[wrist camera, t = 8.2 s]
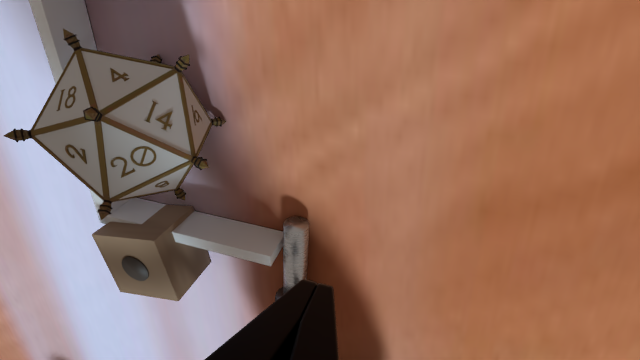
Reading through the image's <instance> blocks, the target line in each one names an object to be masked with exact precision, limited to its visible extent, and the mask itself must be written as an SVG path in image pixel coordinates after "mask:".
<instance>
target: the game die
mask: <svg viewBox="0 0 640 360" xmlns="http://www.w3.org/2000/svg"><path fill="white" fill-rule="evenodd" d="M63 33H64V39H63V40H65V41H66V42H67V43H68V44H67V45H68V46H71V47H72V48H73V50H74V52H73V54H72V56H71V58H70V59H69V61H68V63H67V65H66V67H65V69H64V70H63V72H62V74H61V76H60V78H59V79H58V81H57V83H56V85H55V87H54V89H53V90H52V92H51V94H50V96H49V98H48V100H47V101H46V103H45V105H44V107H43V109H42V111H41V112H40V114H39V116H38V118H37V120H36V122H35V123H34V125H33V127H32V129H31V130H29V131H27V130H23V129H21V130H16V129H14V130H13V131H11V132H9V133H8V134H6V135H4V136H5V137H8V138H10V139H13V140H16V142H18V141H19V140H23V141H25V140H26V139H29V138H32V139H34V140H35V141H36V142H37V143H38V144H39V145H40V146H42V147H43V148H44V149H45V150H46V151H47V152H48V153H50V154H51V155H52V156H53V157H54V158H55V159H56V160H58V161H59V162H60V163H61V164H62V165H63V166H64V167H66V168H67V169H68V170H69V171H70V172H71V173H72V174H73V175H75V176H76V177H77V178H78V179H79V180H80V181H81V182H83V183H84V184H85V185H86V186H87V187H88V188H89V189H91V190H92V191H93V192H94V193H95V194H96V195H97V196H99V197H100V198H101V199H102V200H103V201H104V202H103V203H102V204H100V207H99V208H100V209H98V213H99V216H100V219H101V220H102V219H104V218H105V217H106V216H107V215H109V214H111V212H110V211H111V209H113V208H112V207H111V203H112V202H115V201H121V200H126V199H131V198H136V197H142V196H147V195H152V194H157V193H162V192H168V191H173V190H174V191H175V195H176V196H177V198H179V199H182V200H185V195H186V193H185V192H183V190H182V189H180V188H179V187H180V185H181V184H182V182H183V181H184V179H185V177H186V176H187V174H188V173H189V171H190V169H191V168H192V166H193V165H195V166H196V167H197V168H199V169H200V170H202V169H204V168H209V167H208V164H207V162H206V161H207V159H203V158H202V157H199V158H197V157H198V155H199V153H200V151H201V148H202V146H203V144H204V142H205V139H206V137H207V135H208V133H209V130H210V128H211V126H212V125H214V126H222V125H223V124H224V123H225V122H226V121H225V120H223V119H221V118H220V117H219V118H216V117H215V118H214V119H210V117H209V115H208V114H207V112H206V111H205V109H204V107H203V106H202V104H201V103H200V101H199V99H198V98H197V96H196V94H195V93H194V91H193V90H192V88H191V86H190V85H189V83H188V82H187V80H186V78H185V77H184V75H183V74H182V70H184V69H187V66H190V64H189V55H186V56H183V57H182V56H180V57H179V60H178V61H177V62H176V66H171V65H166V64H161V61H162V59H161V58H160V56H159V55H157V56H153V57H151V58H152V60H150V61H146V60H141V59H136V58H131V57H126V56H121V55H116V54H111V53H106V52H101V51H96V50H91V49H87V48H82V47H81V46H80V43H79V41H80V40H78V39H77V37H76V36H77V35H76V34H75V35H74V34H73V33H71V32H69V31H67V30H65V29H63Z"/></svg>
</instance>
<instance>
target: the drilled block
mask: <svg viewBox="0 0 640 360" xmlns="http://www.w3.org/2000/svg"><path fill="white" fill-rule="evenodd" d="M193 212H194V208H193V206H181V205H165V206H164V207H163V208H161V209H160V210H159V211H158V212H156V213H155V214H154V215H153V216H151V217H150V218H149V219H148V220H146V221H145V222H144V223H143V224H133V223H121V222H109V223H107V224H106V225H104V226H103V227H102V228H100V229H99V230H97V231H96V232H95V233H93V234H92V236H93V238H94V240H95V242H96V244H97V246H98V248H99V250H100V252H101V254H102V256H103V258H104V260H105V262H106V264H107V266H108V268H109V270H110V272H111V274H112V276H113V278H114V280H115V282H116V284H117V286H118V288H119V290H120V292H125V293H131V294H137V295H143V296H150V297H156V298H162V299H168V300H174V301H179V300H180V299H181V298H182V296H183V295H184V294H185V293H186V292H187V290H188V289H189V288H190V287H191V285H192V284H193V283H194V282H195V281H196V279H197V278H198V277H199V276H200V275H201V273H202V272H203V271H204V270H205V269H206V267H207V266H208V265H209V264H210V262H211V260H210V257H209V254H208V251H207V250H205V249H201V248H197V247H193V246H189V245H185V244H182V243H178V242H175V239H174V236H173V234H172V231H173V230H174V229H175V228H177V227H178V226H179V225H180V224H181V223H182V222H183V221H184V220H185V219H186V218H187V217H189V216H190V215H191V214H192V213H193Z"/></svg>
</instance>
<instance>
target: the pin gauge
mask: <svg viewBox="0 0 640 360" xmlns="http://www.w3.org/2000/svg"><path fill="white" fill-rule="evenodd" d="M308 242H309V222H308V220H307V219H305V218H303V217H298V216H294V217H290V218H287V219H286V220H285V221H284V223H283V287H281V288H280V289H279V290H278V291H277V293H276V296H275V301H276V300H278V299H279V298H280V297H281V296H282V295H284V294H285V293H286V292H287V291H288V290H290V289H291V288H292V287H293V286H295V285H296V284H297V283H298V282H299V281H301V280H302V279H306V280H307V264H308Z"/></svg>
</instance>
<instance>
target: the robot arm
mask: <svg viewBox="0 0 640 360" xmlns="http://www.w3.org/2000/svg"><path fill="white" fill-rule="evenodd" d="M205 360H339V356H338V343H337V329H336V316H335V303H334V290H333V287H332V286H329V285H326V284H322V283H319V284H317V283H316V282H314V281H310V280H306V279H302V280H301V281H299V282H298V283H297V284H296V285H295V286H293V287H292V288H291V289H290V290H288V291H287V292H286V293H285V294H284V295H282V296H281V297H280V298H279V299H278V300H276V301H275V302H274V303H273V304H271V305H270V306H269V307H268V308H267V309H265V310H264V311H263V312H262V313H261V314H259V315H258V316H257V317H256V318H255V319H253V320H252V321H251V322H250V323H248V324H247V325H246V326H245V327H244V328H242V329H241V330H240V331H239V332H238V333H236V334H235V335H234V336H233V337H231V338H230V339H229V340H228V341H227V342H225V343H224V344H223V345H222V346H221V347H219V348H218V349H217V350H216V351H215V352H213V353H212V354H211V355H210V356H208V357H207V358H206V359H205Z"/></svg>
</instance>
